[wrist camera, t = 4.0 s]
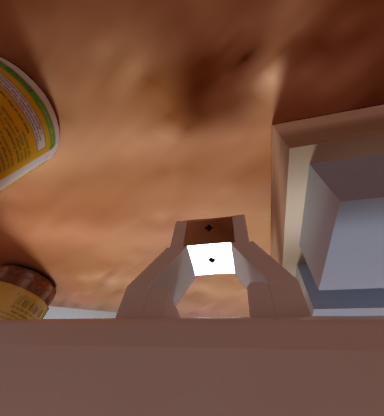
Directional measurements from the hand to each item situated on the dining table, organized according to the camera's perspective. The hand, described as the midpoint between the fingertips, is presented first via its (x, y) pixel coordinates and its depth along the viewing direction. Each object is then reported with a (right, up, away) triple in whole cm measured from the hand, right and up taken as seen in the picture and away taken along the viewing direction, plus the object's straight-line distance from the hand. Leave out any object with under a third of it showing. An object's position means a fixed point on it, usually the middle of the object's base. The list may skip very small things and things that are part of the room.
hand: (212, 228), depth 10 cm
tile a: (+6, +1, -1) cm, 6 cm away
